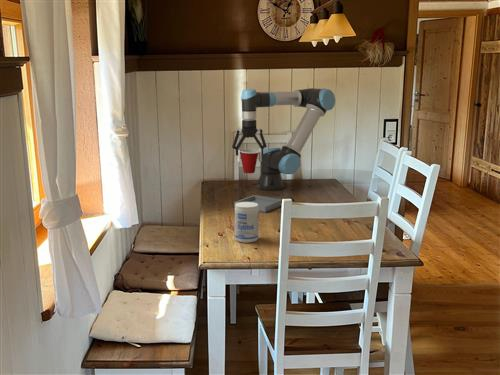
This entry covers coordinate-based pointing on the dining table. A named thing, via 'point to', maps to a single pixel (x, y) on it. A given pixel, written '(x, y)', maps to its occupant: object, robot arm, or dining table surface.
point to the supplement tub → (246, 221)
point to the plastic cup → (249, 159)
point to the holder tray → (263, 202)
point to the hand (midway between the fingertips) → (249, 161)
